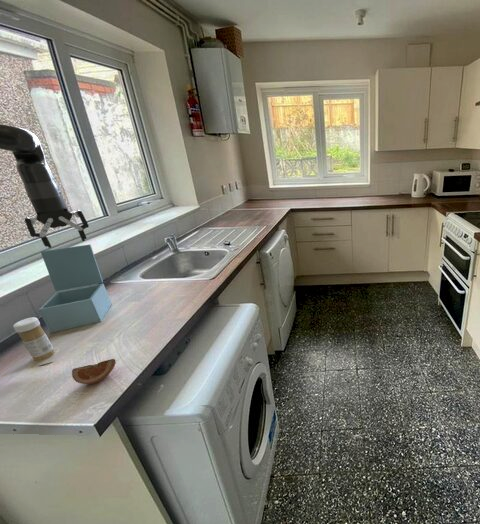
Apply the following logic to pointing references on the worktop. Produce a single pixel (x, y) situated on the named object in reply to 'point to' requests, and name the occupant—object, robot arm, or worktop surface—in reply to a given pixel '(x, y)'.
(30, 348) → the sprinkles bottle
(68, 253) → the lid
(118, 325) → the worktop surface
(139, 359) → the worktop surface
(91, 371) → the fruit slice
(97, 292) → the chest
